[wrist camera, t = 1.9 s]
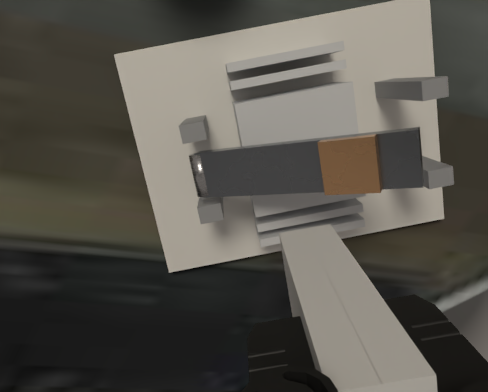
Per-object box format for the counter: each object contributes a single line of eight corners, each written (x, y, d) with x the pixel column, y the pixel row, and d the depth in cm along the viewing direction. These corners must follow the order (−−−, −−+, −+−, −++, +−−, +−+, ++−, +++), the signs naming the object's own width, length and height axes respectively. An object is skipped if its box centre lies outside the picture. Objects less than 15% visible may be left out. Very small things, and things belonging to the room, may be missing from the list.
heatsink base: (170, 267, 37) (155, 323, 28) (116, 55, 33) (79, 44, 24) (438, 215, 37) (504, 254, 29) (423, -4, 33) (496, -36, 24)
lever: (203, 193, 29) (191, 201, 28) (194, 151, 28) (181, 156, 27) (424, 182, 23) (421, 191, 21) (420, 126, 22) (417, 132, 20)
